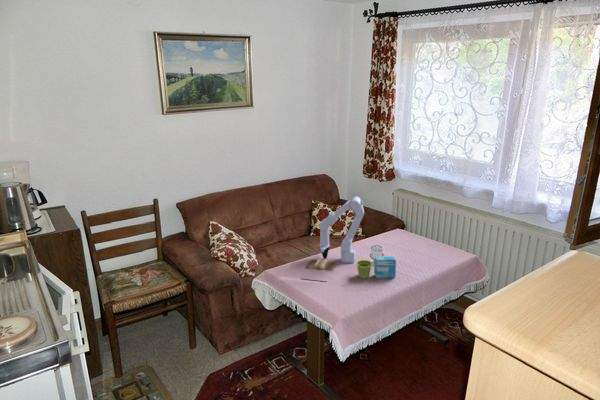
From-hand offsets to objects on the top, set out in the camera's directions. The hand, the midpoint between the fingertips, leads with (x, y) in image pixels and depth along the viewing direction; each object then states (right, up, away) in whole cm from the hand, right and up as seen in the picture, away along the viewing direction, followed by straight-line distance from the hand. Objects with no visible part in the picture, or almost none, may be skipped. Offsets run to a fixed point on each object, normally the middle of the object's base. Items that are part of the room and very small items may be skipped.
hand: (325, 257), depth 271 cm
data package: (+34, -8, -23) cm, 42 cm away
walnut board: (-3, -5, -8) cm, 10 cm away
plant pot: (+22, -8, -22) cm, 32 cm away
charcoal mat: (-7, -8, -20) cm, 22 cm away
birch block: (-3, -3, -9) cm, 10 cm away
